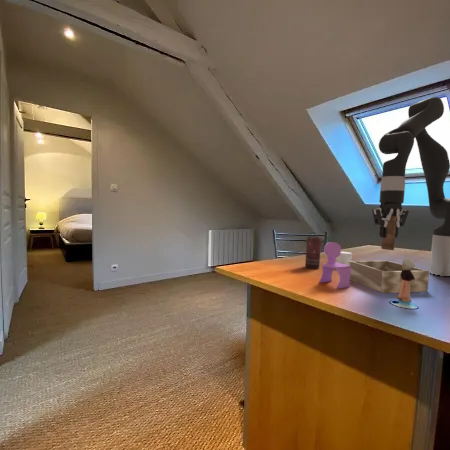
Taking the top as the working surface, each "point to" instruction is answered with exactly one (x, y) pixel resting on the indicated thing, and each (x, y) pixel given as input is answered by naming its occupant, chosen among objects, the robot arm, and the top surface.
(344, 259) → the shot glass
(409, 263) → the grandmother figurine
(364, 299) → the top surface
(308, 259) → the can
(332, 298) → the top surface
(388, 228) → the peg
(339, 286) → the toy chair
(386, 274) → the crate
